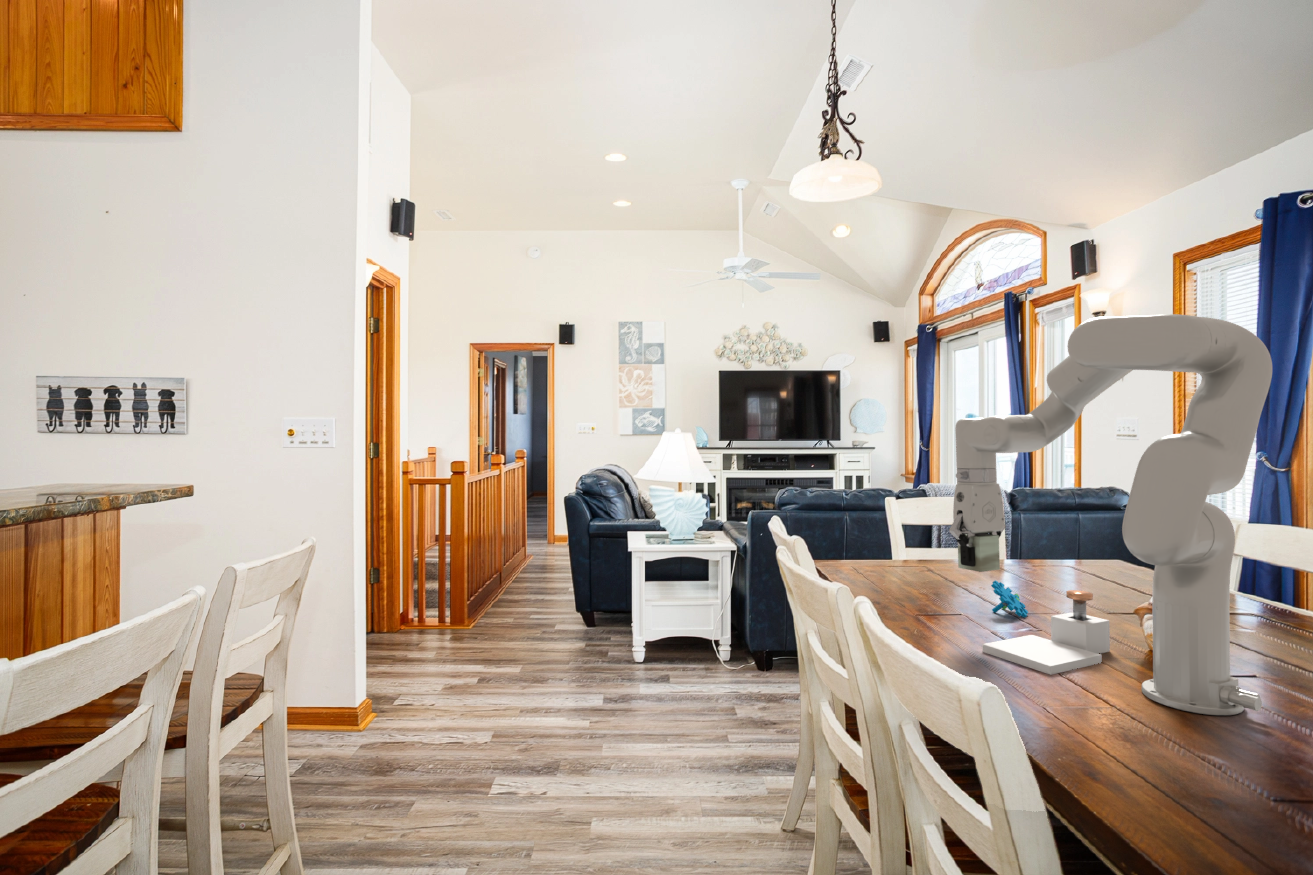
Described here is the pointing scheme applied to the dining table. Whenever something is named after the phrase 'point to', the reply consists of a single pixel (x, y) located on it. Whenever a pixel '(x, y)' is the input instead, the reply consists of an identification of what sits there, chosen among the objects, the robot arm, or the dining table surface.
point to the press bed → (1058, 645)
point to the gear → (1008, 600)
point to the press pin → (1079, 603)
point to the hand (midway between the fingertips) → (978, 563)
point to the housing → (983, 553)
